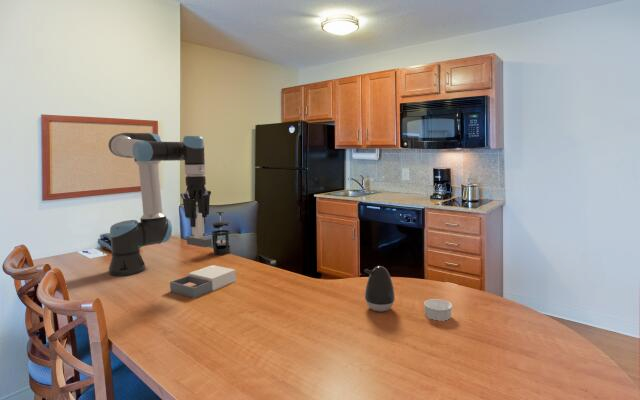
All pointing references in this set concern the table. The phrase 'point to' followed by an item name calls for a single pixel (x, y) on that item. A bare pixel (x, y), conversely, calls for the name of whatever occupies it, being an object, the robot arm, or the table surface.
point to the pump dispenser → (379, 289)
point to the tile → (190, 284)
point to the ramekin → (438, 309)
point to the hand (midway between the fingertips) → (198, 233)
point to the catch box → (192, 292)
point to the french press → (221, 248)
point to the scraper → (199, 235)
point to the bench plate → (216, 275)
